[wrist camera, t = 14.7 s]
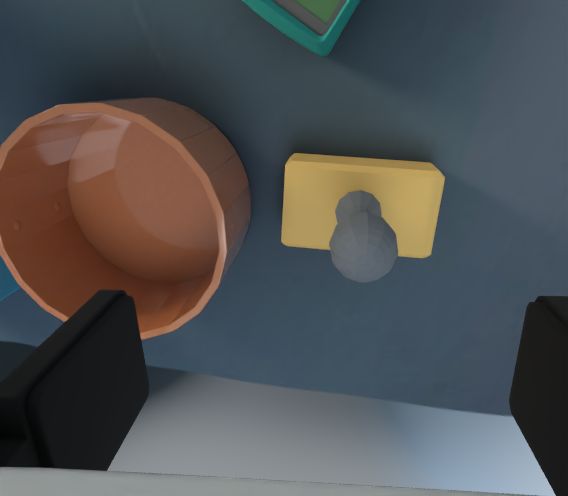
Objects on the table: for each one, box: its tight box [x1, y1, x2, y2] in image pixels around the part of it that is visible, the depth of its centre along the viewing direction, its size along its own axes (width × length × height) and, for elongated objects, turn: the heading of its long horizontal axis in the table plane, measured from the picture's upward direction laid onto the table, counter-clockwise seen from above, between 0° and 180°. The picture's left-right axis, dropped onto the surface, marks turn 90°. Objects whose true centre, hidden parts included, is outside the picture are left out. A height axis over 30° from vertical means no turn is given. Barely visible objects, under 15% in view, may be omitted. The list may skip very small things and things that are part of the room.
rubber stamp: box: [281, 153, 445, 283], centre depth 26 cm, size 10×6×12 cm, turn 87°
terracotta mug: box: [0, 97, 251, 340], centre depth 30 cm, size 18×15×8 cm
